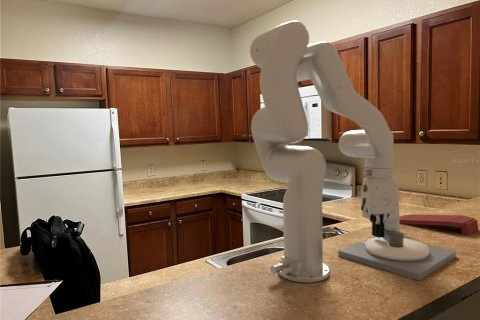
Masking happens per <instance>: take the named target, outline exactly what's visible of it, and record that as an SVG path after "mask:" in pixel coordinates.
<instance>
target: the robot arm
mask: <svg viewBox="0 0 480 320" xmlns="http://www.w3.org/2000/svg"><path fill="white" fill-rule="evenodd" d="M309 43H310V33H309V29H308V28H307V26H306V25H305V24H304V23H303V22H301V21H299V20H291V21H287V22H284V23H281V24H280V25H277V26H275V27H273V28H271V29H270V30H268V31H266V32H263V33H261V34H259V35H257V37H255V38H254V39H253V40H252V42H251V44H250V46H249V55H250V58H251V60H252V62H253V63H254V64H255V65H256V66H257V67H258V68H259V69H260V74H259V89H260V94H261V97H262V100H263V104H264V107H262V108H259V109H258V110H257V111H256V112H255V113H254V114H253V116H252V120H251V124H250V125H251V126H250V128H251V130H250V131H251V136H252V138H253V142H254V146H255V149H256V152H257V154H258V157H259V160H260V163H261V166H262V168H263V171H264V173H265V175H266V176H267V177H269V178H270V179H271V180H273V181H277V182H280V183H286V184H287V187H286V190H285V193H284V195H283V200H282V212H283V213H282V214H283V215H282V217H283V223H282V224H283V256H280V258H281V259H280V260H281V261H279V263H275V264H273V265H271V266H270V272H271V273H272V274H273V275H276V274H279V276H280V277H282V278H284V279H286V280H289V281H292V282H296V283H303V284H304V283H305V284H306V283H317V282H321V281H323V280H326V279H327V278H328V277H329V276H330V268H329V266H328V265H327V264H325V263H324V248H323V247H324V246H323V245H324V244H323V241H324V240H323V238H324V237H323V233H324V232H323V190H324V183H325V178H326V172H327V162H326V159H325V157H324V155H323V153H322V152H321V151H319V150H318V149H316V148H315V147H310V146H307V145H304V146H303V145H289V144H296V143H299V142H301V141H303V140H304V139H305V138H306V137H308V133H309V122H308V118H307V114H306V111H305V107H304V104H303V101H302V97H301V93H300V90H299V86H298V82H304V81H308V80H310V81H311V82H312V84H313V86H314V88H315V90H316V92H317V94H318V97H319V98H320V101H321V103H322V105H323V107H324V108H325V109H326V110H328V111H330V112H332V113H335V114H336V115H338V116H341V117H345V118H346V119H349V120H350V121H351V122H352V121H353V122H354V123H355V124H357V125H358V126H359V127H360V128H361V129H355V130H349V131H346V132H344V133H343V134H342V135H340V136H339V137H340V138H339V140H338V148H339V150H340V152H341V153H342V154H343V155H345V156H347V157H351V158H364V170H363V171H362V175H363V176H364V178H363V180H362V185H361V192H360V211H361V212H362V213H361V214H362V215H361V217H362V218H365V219H368V220H369V221H370V223H371V234H372V235H371V236H372V237H374V236H375V237H378V238H381V237H384V223H386V221H387V218H388V217H389V216H391V215H393V214H394V212H396V211H397V210H398V193H397V188H398V186H397V182H396V178H394V133H393V132H392V131H391V129H390V126H389V125H388V122H387V120H386V118H385V116H384V115H383V114H382V112H381V111H380V110H379V109H378V108H377V107H376V106H374V105H373V104H372V103H371V102H370V101H369V100H368V99H366V98H365V97H363V96H362V95H360V94H359V93H358V92H357V91H356V89H355V88H354V86H353V84H352V81H351V79H350V76H349V75H348V73H347V71H346V70H347V69H346V68H345V65H344V63H343V61H342V58H341V57H340V55H339V52H338V50H337V49H336V47H335V46H334V44H332V43H331V42H328V41H319V42H315V43H310V44H309Z"/></svg>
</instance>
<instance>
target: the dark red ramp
mask: <svg viewBox="0 0 480 320" xmlns="http://www.w3.org/2000/svg"><path fill="white" fill-rule="evenodd" d="M399 224H404V225H408V224H409V225H426V226H427V225H429V226H430V225H431V226H448V227H449V226H450V227H458V228H461V234H462V235H464V236H471V235H473V234H475V233H477V232H480V231H479V224H478V220H477V219H475V218H474V217H472V216H471V217H470V216H468V215H464V214H463V215H459V214H457V215H455V214H415V213H414V214H403V215H399Z"/></svg>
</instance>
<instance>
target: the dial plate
mask: <svg viewBox="0 0 480 320" xmlns="http://www.w3.org/2000/svg"><path fill="white" fill-rule="evenodd" d="M371 238H375V236H371V237H369V238H366V239H364V240H362V241H360V242H356V243H354V244H352V245H349V246H346V247H344V248H341V249H339V250H338V256H339V257H342V258H344V259H348V260H351V261H355V262H357V263H361V264H365V265H367V266H371V267H374V268H378V269H379V270H384V271H387V272H390V273H393V274H397V275H400V276H403V277H405V278H410V279H414V280H416V281H420V280H422V279H423V278H426V277H427V276H429V275H430V274H431V273H433V272H435V271H436V270H438V269H440V268H441V267H442V266H444V265H446V264H447V263H448V262H451V261H452V260H453V259H455V258H456V257H457V251H456V250H451V249H446V248H444V247H443V248H442V247H438V246H433V245H429V244H426V245H427V246H428V247H429V256H428V257H427V258H425V259H423V260H418V261H397V260H390V259H385V258H381V257H378V256H375V255H373V254H371V253H369V252H368V251H367V250H366V249H365V242H366V241H367V240H368V239H371Z"/></svg>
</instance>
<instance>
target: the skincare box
mask: <svg viewBox="0 0 480 320" xmlns="http://www.w3.org/2000/svg"><path fill="white" fill-rule="evenodd" d="M399 190H400V188H399V187H397V193H398V210H397V211H396V212H394V214H393V215H391V216H389V217H388V218H387V221H386V223H384V226H389V227H391V228H392V229H394V230H395V231H397V232H401V230H400V229H401V228H400V225H401V223H399V217H400V191H399Z"/></svg>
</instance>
